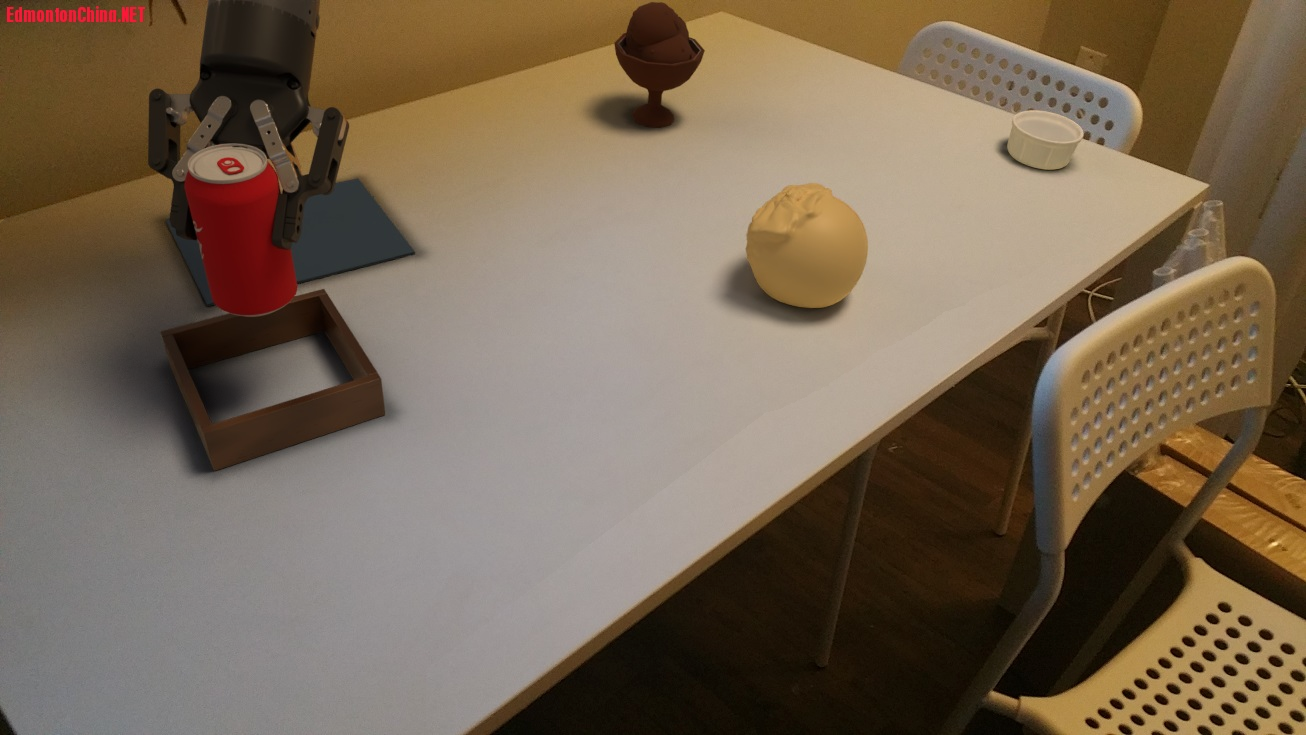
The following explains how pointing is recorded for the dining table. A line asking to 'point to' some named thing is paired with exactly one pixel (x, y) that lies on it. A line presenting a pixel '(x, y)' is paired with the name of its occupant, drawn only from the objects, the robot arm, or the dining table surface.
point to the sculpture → (807, 247)
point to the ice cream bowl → (657, 58)
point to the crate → (287, 418)
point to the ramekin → (1043, 139)
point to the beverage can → (239, 229)
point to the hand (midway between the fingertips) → (234, 242)
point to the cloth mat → (326, 237)
